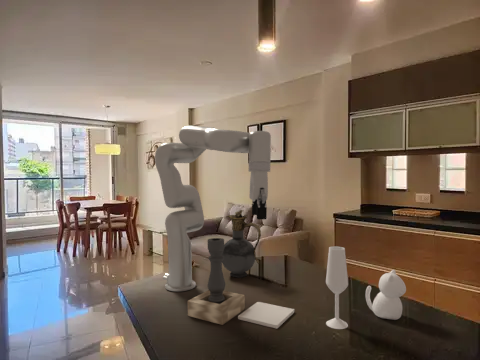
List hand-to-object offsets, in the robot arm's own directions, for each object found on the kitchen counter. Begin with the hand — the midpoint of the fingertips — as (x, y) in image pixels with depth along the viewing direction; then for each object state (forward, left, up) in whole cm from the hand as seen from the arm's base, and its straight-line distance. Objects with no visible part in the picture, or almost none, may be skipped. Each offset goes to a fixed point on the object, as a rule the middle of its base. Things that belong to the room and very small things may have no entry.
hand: (258, 216), depth 121 cm
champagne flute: (+27, +1, -32) cm, 42 cm away
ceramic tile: (+5, -4, -32) cm, 33 cm away
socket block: (-11, -10, -32) cm, 36 cm away
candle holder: (-11, -10, -32) cm, 36 cm away
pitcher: (-24, +29, -32) cm, 50 cm away
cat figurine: (+39, +15, -32) cm, 53 cm away
